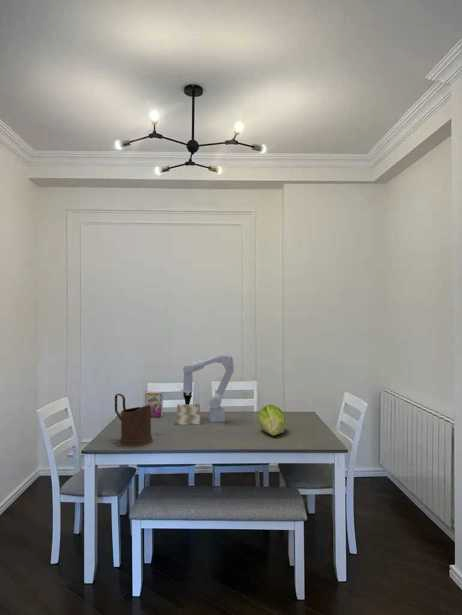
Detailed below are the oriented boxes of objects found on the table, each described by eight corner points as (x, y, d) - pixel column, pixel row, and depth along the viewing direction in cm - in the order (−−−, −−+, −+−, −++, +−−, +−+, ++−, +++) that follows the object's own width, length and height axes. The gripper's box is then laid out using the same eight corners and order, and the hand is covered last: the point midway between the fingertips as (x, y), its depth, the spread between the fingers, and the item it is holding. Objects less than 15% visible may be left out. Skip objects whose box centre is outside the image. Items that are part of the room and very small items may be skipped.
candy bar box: (144, 417, 322) (144, 392, 322) (146, 415, 327) (146, 391, 327) (161, 417, 321) (161, 393, 321) (162, 416, 326) (162, 391, 326)
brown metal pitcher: (138, 448, 250) (138, 399, 250) (103, 442, 261) (103, 396, 262) (160, 439, 266) (160, 394, 266) (126, 434, 278) (126, 391, 278)
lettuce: (288, 444, 269) (259, 446, 270) (285, 421, 293) (259, 423, 294) (286, 420, 264) (257, 422, 266) (283, 399, 288) (256, 401, 289)
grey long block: (202, 425, 298) (202, 421, 298) (202, 426, 296) (202, 421, 296) (174, 426, 297) (174, 422, 297) (174, 427, 295) (174, 422, 295)
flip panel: (200, 423, 298) (199, 404, 299) (200, 424, 296) (200, 404, 298) (177, 424, 296) (177, 404, 298) (177, 424, 295) (177, 404, 296)
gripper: (181, 381, 315) (181, 402, 315) (181, 385, 301) (180, 406, 301) (192, 381, 316) (191, 402, 316) (192, 385, 302) (192, 406, 301)
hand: (187, 404), depth 308 cm, fingers open, 7 cm apart
